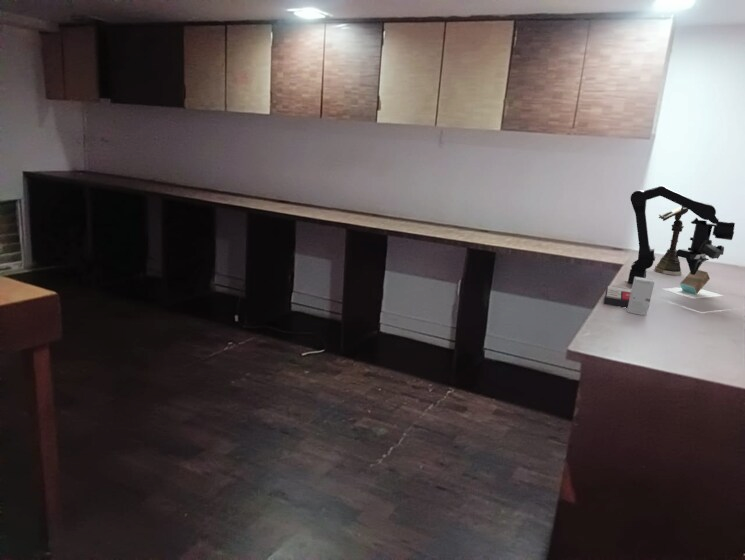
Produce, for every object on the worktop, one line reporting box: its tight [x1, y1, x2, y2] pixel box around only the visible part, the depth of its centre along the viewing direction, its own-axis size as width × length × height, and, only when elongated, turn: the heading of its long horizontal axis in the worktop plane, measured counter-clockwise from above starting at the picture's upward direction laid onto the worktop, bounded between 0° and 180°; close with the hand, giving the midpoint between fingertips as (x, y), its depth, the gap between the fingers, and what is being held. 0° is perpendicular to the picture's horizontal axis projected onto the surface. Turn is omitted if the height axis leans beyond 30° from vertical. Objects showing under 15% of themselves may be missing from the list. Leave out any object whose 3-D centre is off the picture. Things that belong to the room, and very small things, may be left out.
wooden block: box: [679, 269, 711, 294], centre depth 230 cm, size 4×6×9 cm
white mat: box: [662, 286, 724, 300], centre depth 231 cm, size 20×14×1 cm
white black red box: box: [603, 285, 632, 309], centre depth 209 cm, size 11×4×15 cm
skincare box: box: [626, 277, 655, 316], centre depth 195 cm, size 6×4×12 cm
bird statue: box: [654, 205, 689, 276], centre depth 265 cm, size 17×13×35 cm
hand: (692, 274), depth 228 cm, fingers closed
